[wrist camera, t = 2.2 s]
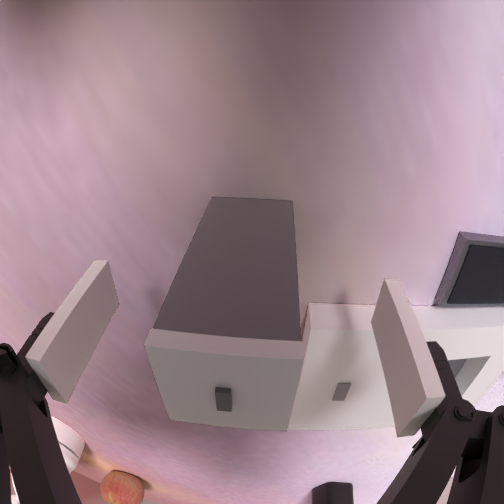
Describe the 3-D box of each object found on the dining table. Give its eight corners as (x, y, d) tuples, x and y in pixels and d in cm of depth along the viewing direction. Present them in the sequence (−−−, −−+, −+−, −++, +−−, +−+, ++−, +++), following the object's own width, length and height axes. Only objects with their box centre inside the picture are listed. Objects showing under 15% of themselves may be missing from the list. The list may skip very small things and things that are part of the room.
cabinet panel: (308, 302, 22) (310, 330, 20) (522, 304, 21) (535, 324, 18) (288, 408, 29) (287, 431, 27) (460, 398, 28) (466, 417, 26)
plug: (211, 196, 18) (141, 350, 9) (293, 200, 18) (303, 365, 8) (214, 263, 21) (168, 423, 11) (287, 267, 20) (286, 436, 11)
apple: (100, 461, 49) (89, 494, 42) (139, 472, 48) (130, 507, 41) (116, 476, 53) (108, 506, 46) (153, 485, 52) (146, 516, 46)
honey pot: (47, 436, 47) (19, 507, 31) (11, 399, 40) (-27, 478, 25) (97, 452, 45) (71, 533, 30) (61, 416, 38) (23, 510, 23)
